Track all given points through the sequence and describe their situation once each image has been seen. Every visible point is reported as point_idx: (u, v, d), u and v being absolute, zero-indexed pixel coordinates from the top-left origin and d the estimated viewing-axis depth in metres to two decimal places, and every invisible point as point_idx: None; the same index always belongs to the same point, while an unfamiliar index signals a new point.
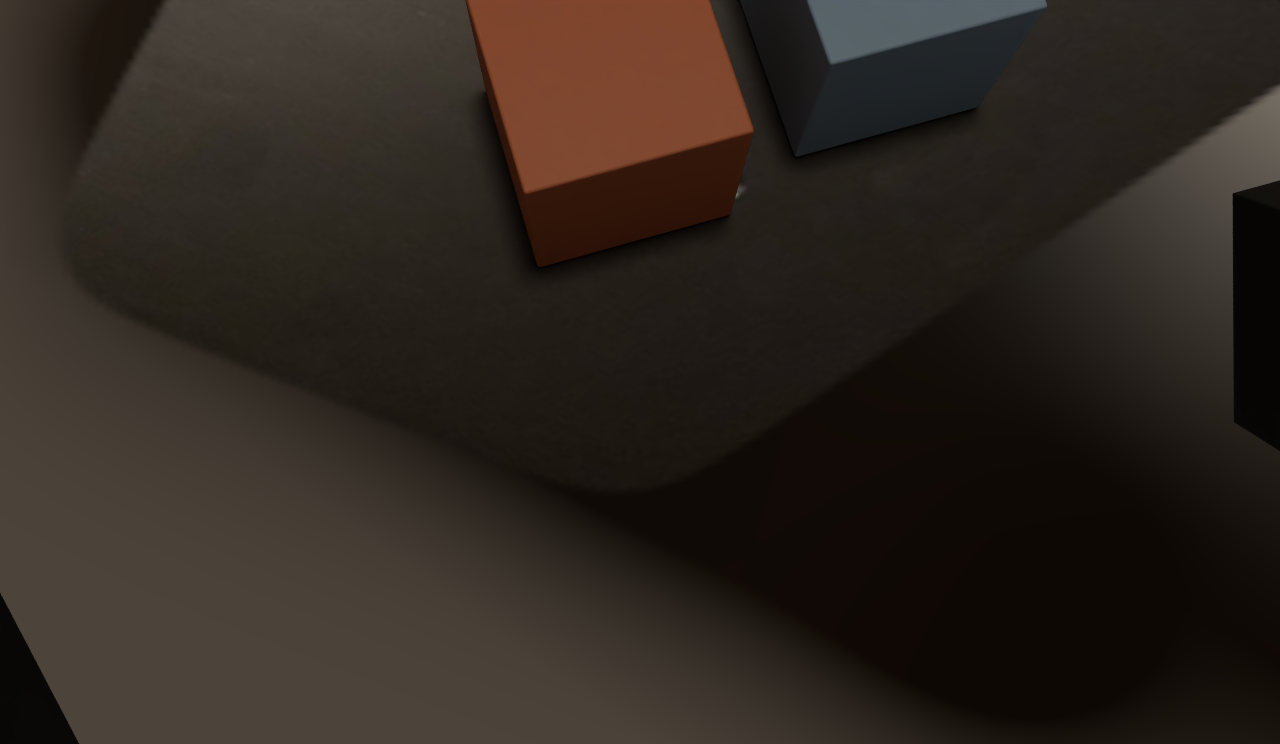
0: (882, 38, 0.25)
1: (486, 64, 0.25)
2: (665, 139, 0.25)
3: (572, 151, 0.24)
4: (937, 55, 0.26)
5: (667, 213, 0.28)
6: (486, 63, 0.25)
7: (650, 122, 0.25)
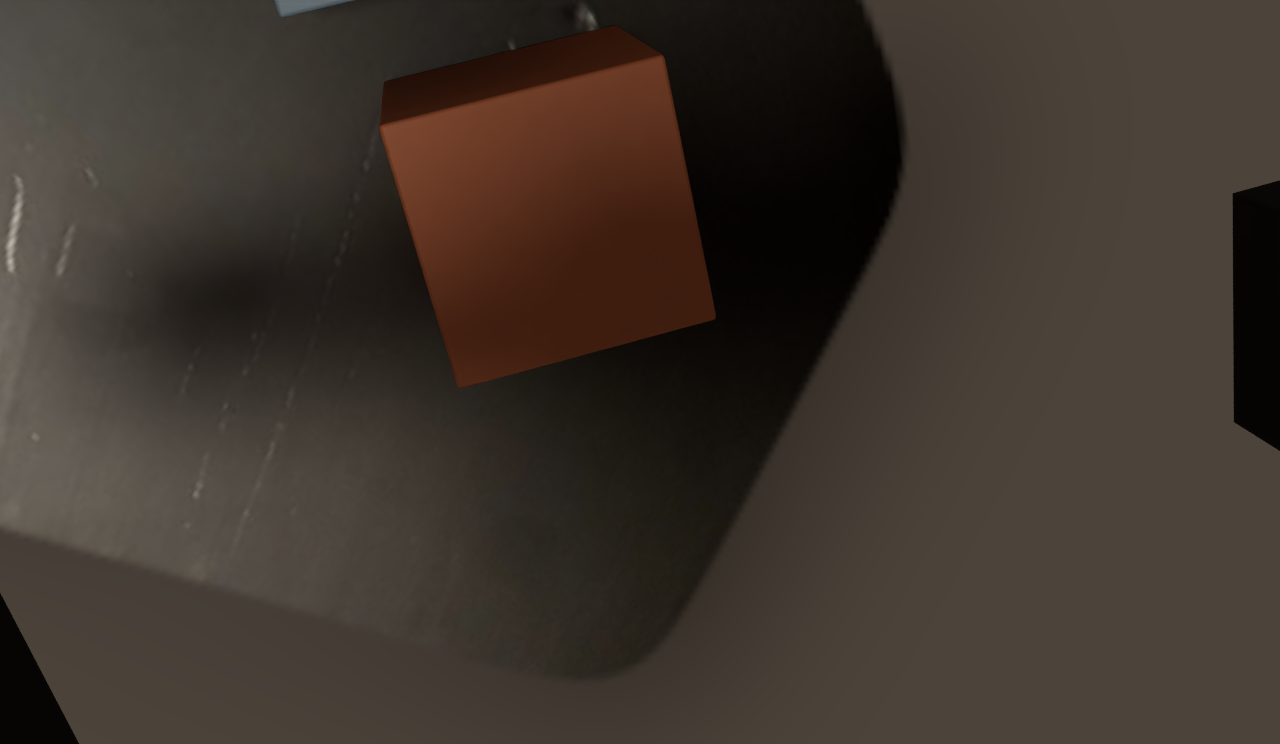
0: None
1: (560, 360, 0.22)
2: (666, 164, 0.21)
3: (672, 268, 0.22)
4: None
5: None
6: (560, 360, 0.22)
7: (643, 180, 0.21)
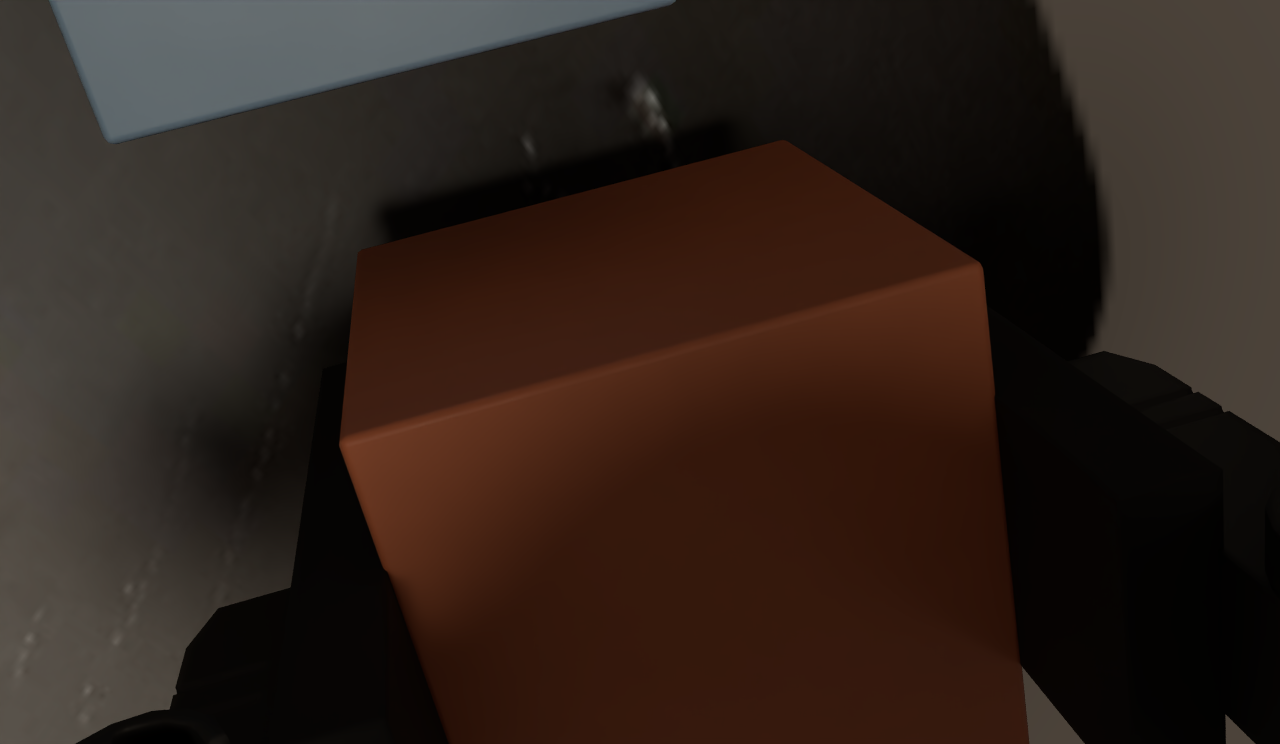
0: None
1: None
2: (967, 484, 0.10)
3: (958, 677, 0.10)
4: None
5: None
6: None
7: (916, 519, 0.10)
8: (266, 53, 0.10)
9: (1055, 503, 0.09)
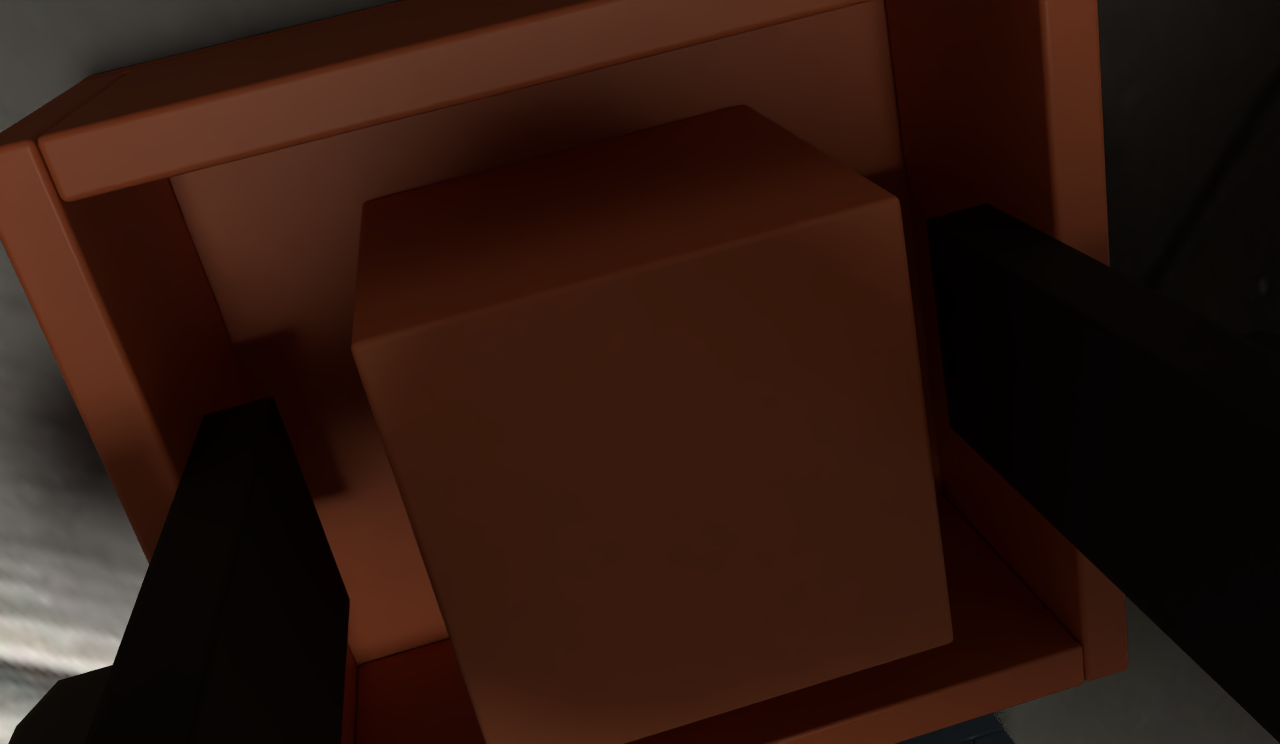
0: None
1: (681, 723, 0.12)
2: (889, 392, 0.11)
3: (888, 565, 0.12)
4: None
5: None
6: (680, 724, 0.12)
7: (847, 422, 0.11)
8: None
9: (1252, 482, 0.09)
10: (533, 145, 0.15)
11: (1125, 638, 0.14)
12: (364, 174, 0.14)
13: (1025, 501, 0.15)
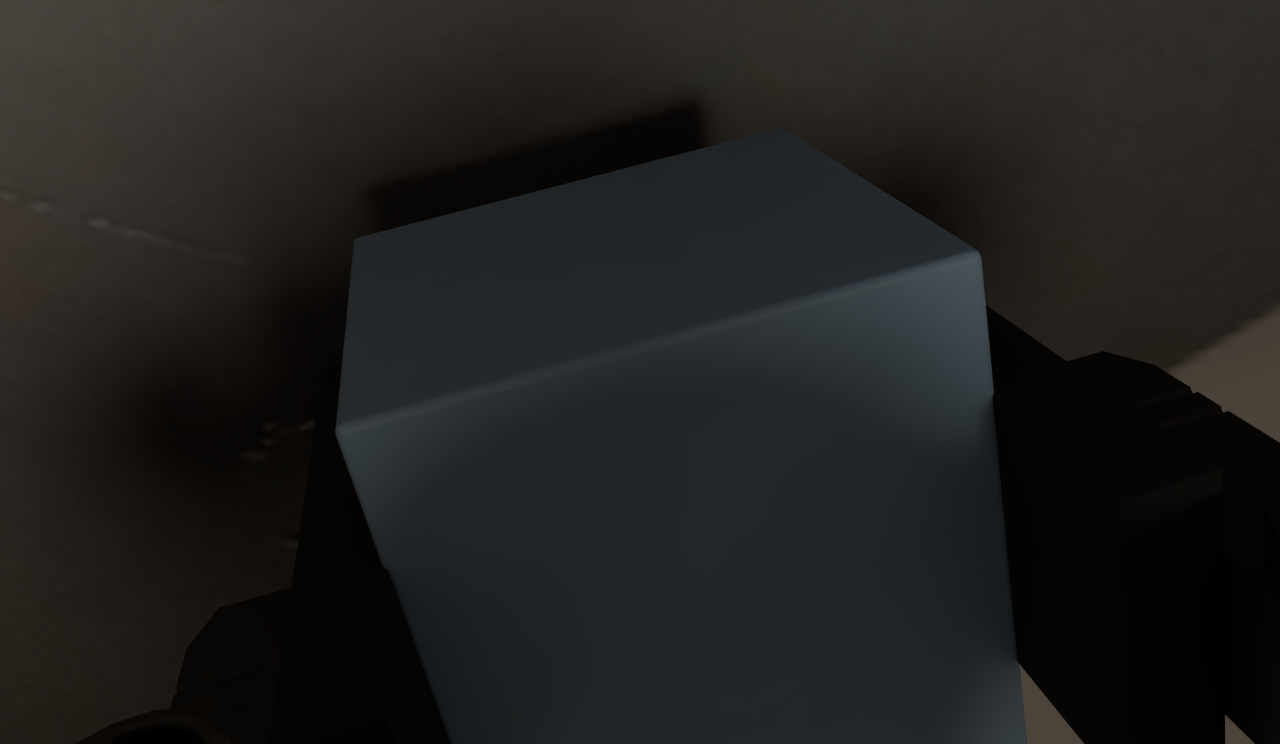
0: None
1: None
2: None
3: None
4: None
5: None
6: None
7: None
8: (447, 580, 0.09)
9: (1055, 503, 0.09)
10: None
11: None
12: None
13: None
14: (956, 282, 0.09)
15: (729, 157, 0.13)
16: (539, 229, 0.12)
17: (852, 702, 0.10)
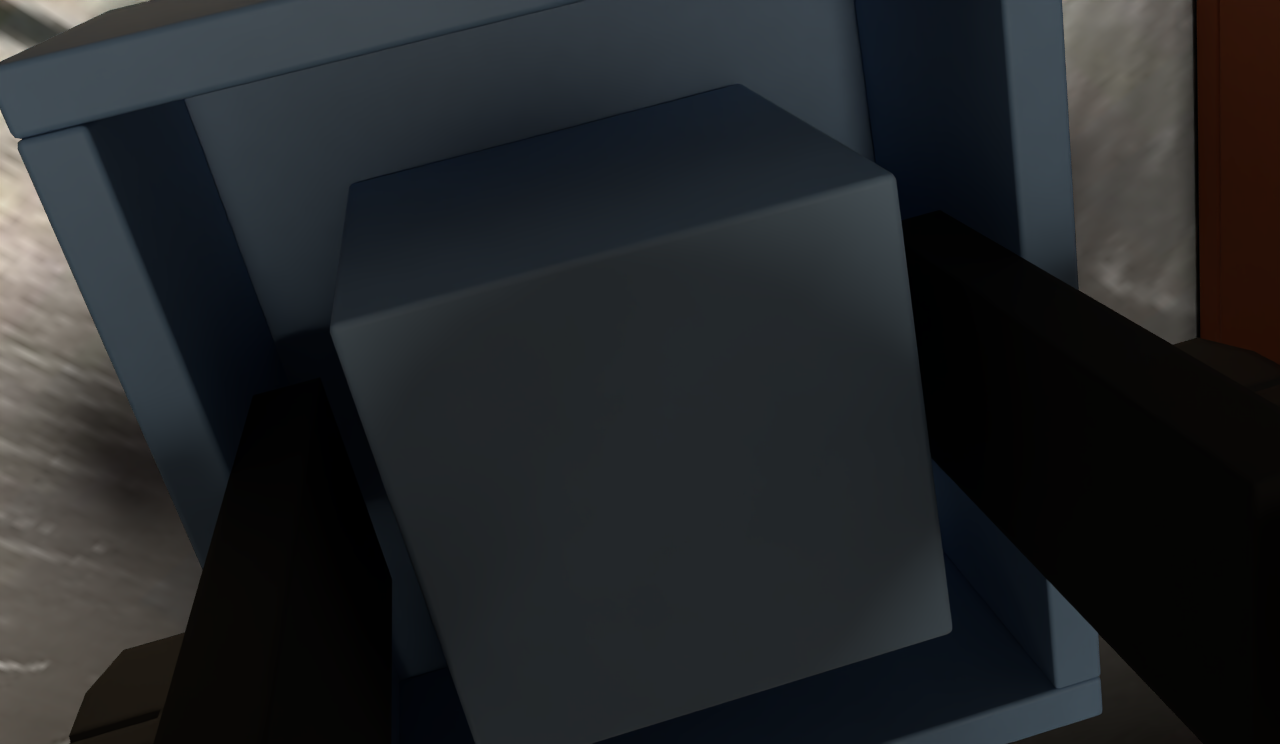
0: (602, 721, 0.12)
1: None
2: None
3: None
4: None
5: None
6: None
7: None
8: (428, 466, 0.10)
9: (1174, 488, 0.09)
10: None
11: None
12: None
13: None
14: (872, 201, 0.10)
15: (690, 109, 0.14)
16: (515, 172, 0.13)
17: (792, 586, 0.12)
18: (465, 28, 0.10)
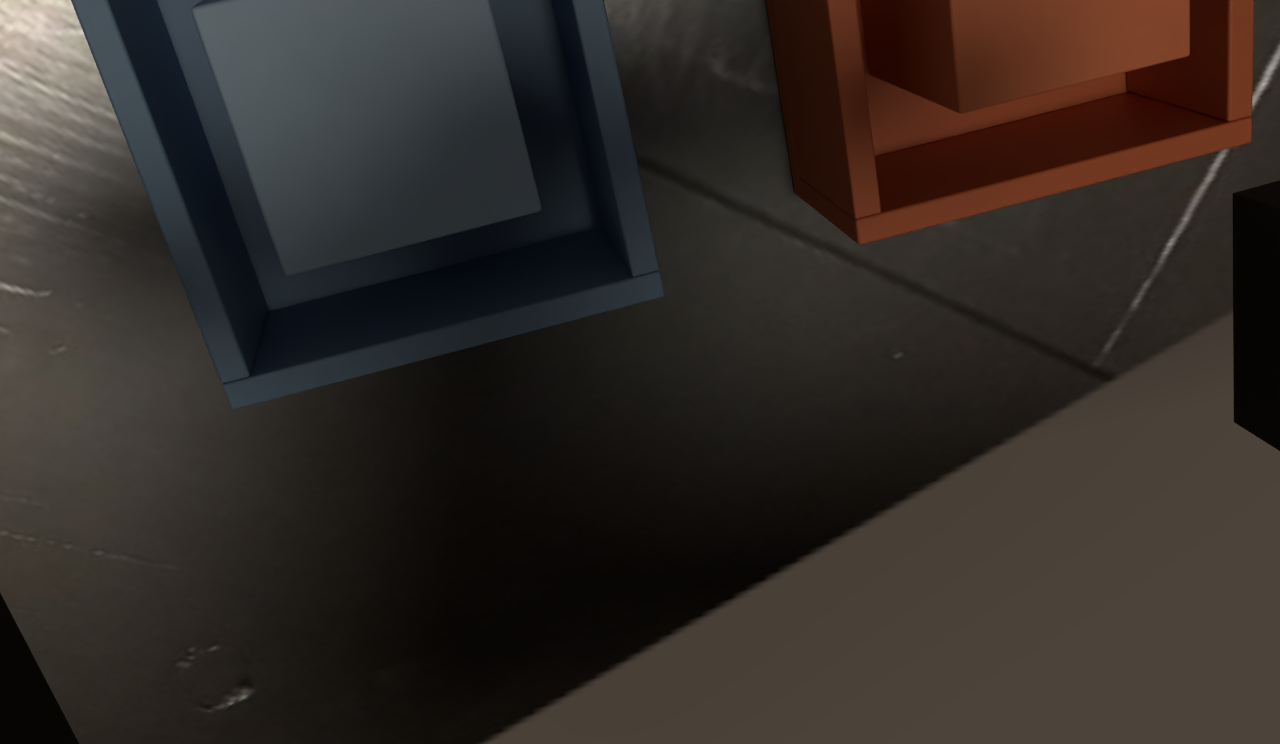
0: (346, 247, 0.22)
1: None
2: (1105, 60, 0.24)
3: (1015, 69, 0.23)
4: None
5: None
6: None
7: (1096, 39, 0.23)
8: (243, 87, 0.21)
9: None
10: None
11: (881, 237, 0.25)
12: None
13: (919, 183, 0.26)
14: None
15: None
16: None
17: (445, 173, 0.22)
18: None
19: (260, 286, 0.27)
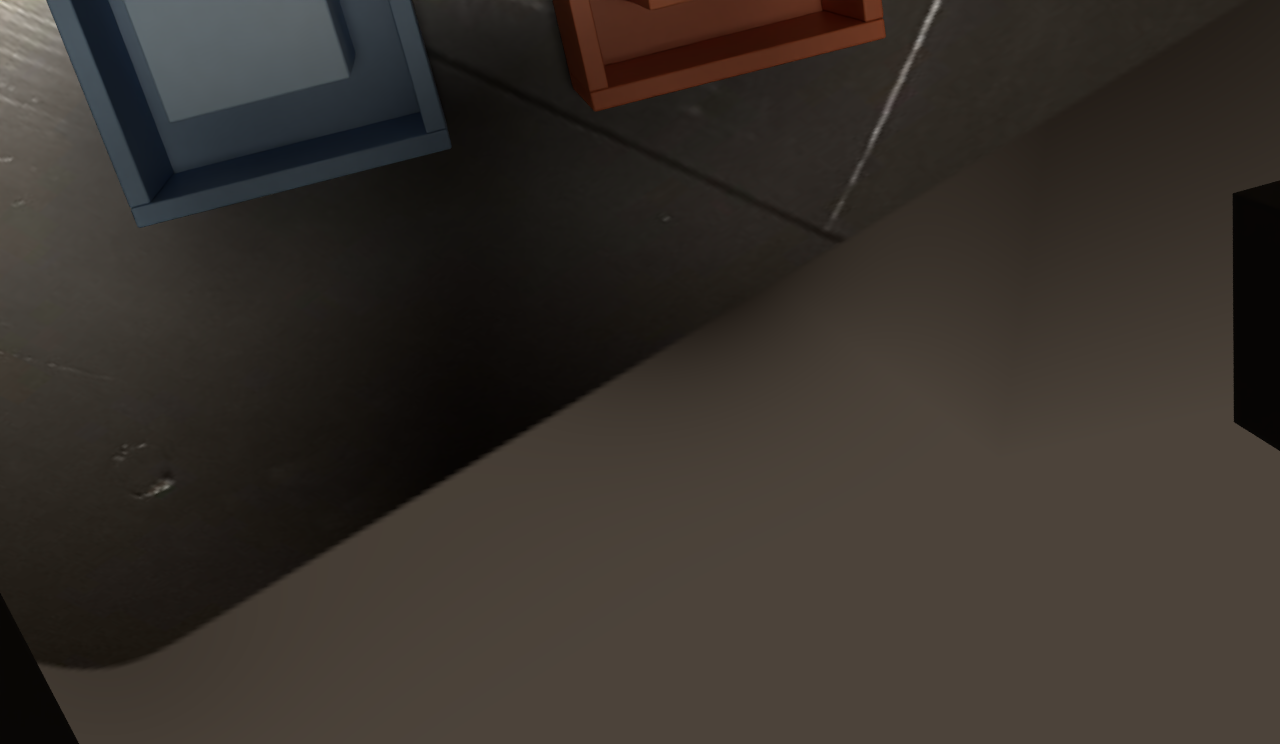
0: (212, 102, 0.32)
1: None
2: None
3: None
4: None
5: None
6: None
7: None
8: None
9: None
10: None
11: (610, 106, 0.35)
12: None
13: (645, 70, 0.36)
14: None
15: None
16: None
17: (279, 49, 0.32)
18: None
19: (167, 153, 0.37)
